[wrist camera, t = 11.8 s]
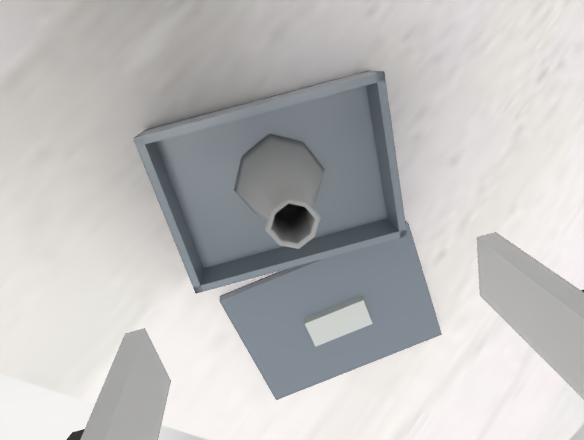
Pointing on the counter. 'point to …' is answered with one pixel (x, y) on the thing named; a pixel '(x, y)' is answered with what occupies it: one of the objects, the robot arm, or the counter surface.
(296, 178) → the flask
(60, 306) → the counter surface
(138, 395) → the robot arm
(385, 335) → the bin lid
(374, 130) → the bin
